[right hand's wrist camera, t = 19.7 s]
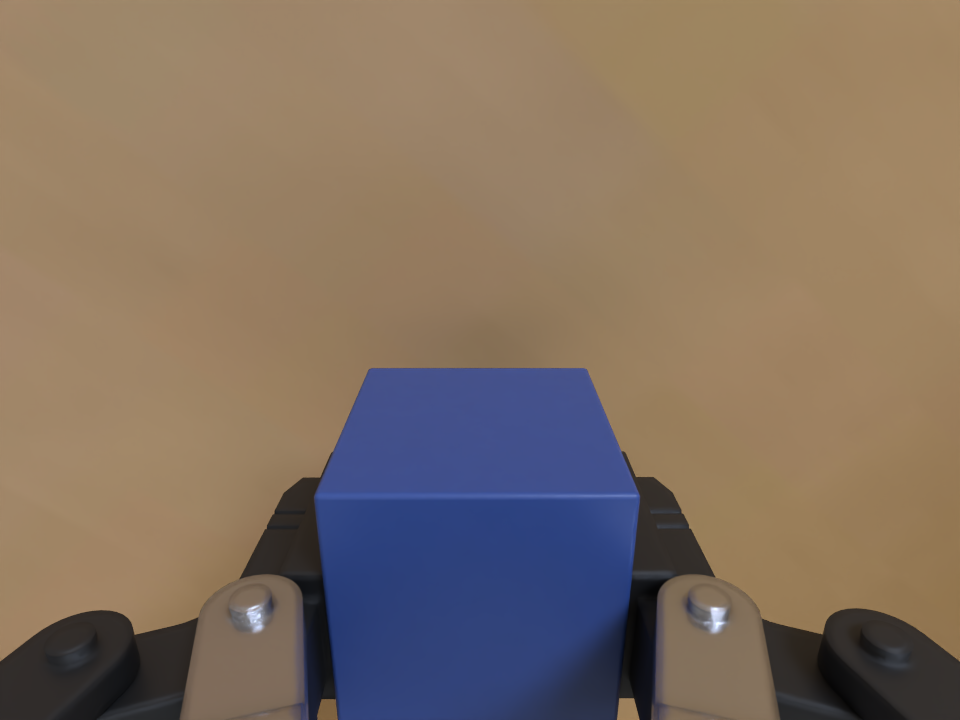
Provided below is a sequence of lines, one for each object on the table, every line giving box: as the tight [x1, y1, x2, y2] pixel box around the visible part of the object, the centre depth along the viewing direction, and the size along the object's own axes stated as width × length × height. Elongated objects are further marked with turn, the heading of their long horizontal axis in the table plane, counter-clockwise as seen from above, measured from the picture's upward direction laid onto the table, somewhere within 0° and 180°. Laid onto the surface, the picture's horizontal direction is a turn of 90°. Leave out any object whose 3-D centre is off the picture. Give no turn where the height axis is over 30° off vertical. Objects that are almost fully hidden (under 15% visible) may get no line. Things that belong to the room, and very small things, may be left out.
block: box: [314, 368, 640, 720], centre depth 11 cm, size 5×4×4 cm
